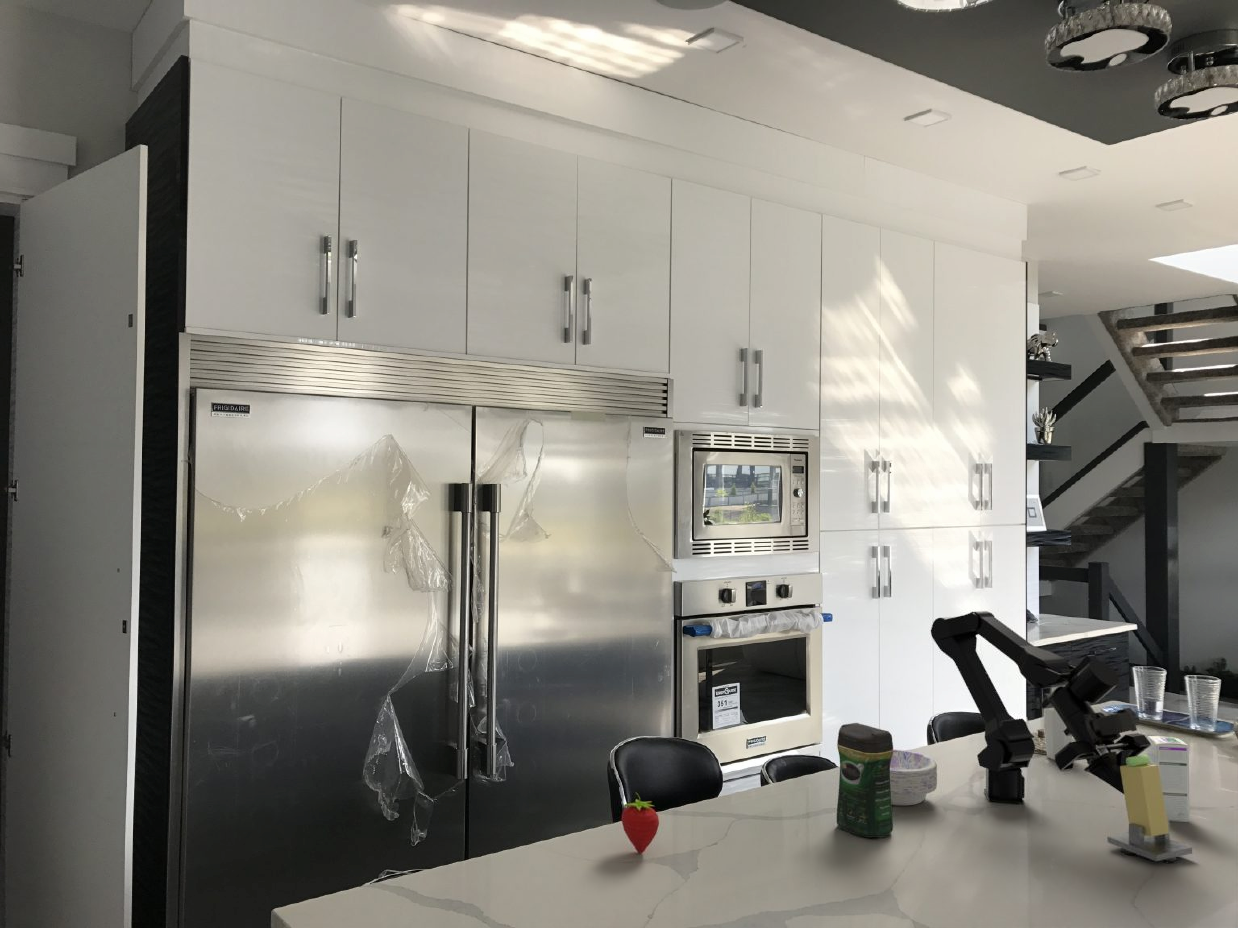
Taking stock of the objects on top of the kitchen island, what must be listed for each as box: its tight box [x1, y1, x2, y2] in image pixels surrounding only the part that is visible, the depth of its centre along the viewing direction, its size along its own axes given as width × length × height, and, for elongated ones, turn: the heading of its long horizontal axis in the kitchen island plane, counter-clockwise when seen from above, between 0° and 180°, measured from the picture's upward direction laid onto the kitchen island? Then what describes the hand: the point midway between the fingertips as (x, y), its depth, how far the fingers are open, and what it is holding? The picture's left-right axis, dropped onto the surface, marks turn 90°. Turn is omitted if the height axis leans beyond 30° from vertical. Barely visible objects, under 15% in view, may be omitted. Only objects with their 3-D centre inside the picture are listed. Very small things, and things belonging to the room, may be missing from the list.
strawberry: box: [621, 792, 660, 854], centre depth 158 cm, size 6×8×10 cm
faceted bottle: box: [1043, 685, 1073, 761], centre depth 221 cm, size 6×6×22 cm
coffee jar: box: [836, 722, 894, 838], centre depth 171 cm, size 10×8×19 cm
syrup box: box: [1146, 735, 1191, 823], centre depth 182 cm, size 6×6×14 cm
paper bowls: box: [890, 748, 938, 807], centre depth 189 cm, size 15×15×8 cm
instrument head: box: [1120, 754, 1169, 836], centre depth 163 cm, size 4×4×13 cm
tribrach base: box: [1107, 821, 1193, 865], centre depth 162 cm, size 9×9×5 cm
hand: (1132, 795), depth 165 cm, fingers closed, pressing on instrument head
